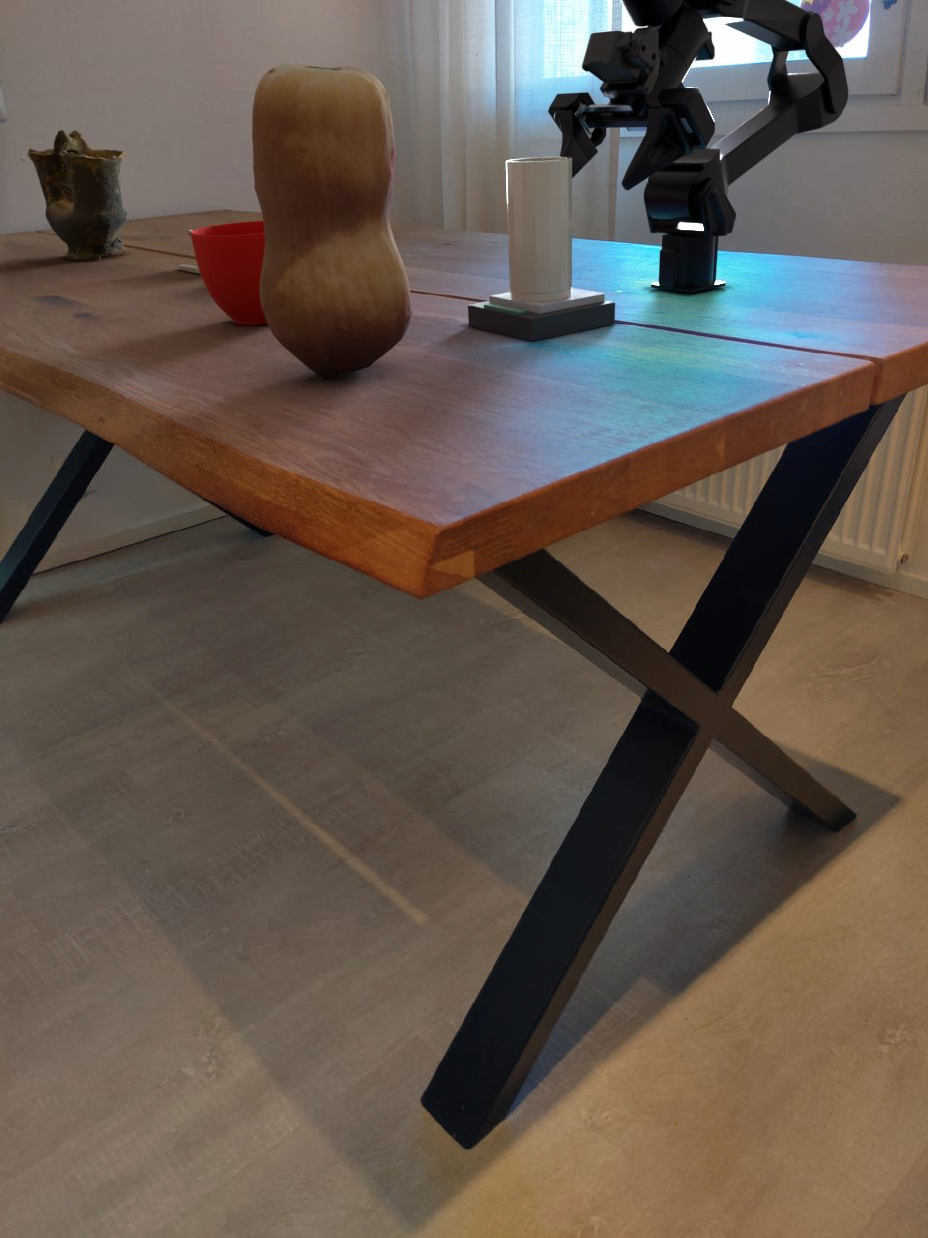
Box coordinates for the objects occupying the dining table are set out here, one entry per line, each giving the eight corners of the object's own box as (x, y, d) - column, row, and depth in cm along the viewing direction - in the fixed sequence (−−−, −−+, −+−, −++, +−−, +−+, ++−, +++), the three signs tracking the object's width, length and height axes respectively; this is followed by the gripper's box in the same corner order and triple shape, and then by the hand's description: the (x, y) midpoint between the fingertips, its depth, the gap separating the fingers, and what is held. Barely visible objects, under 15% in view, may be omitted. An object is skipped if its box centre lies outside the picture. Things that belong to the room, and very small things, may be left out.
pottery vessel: (38, 254, 181) (9, 132, 171) (96, 246, 187) (71, 127, 177) (92, 266, 163) (63, 130, 154) (154, 257, 169) (130, 126, 160)
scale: (548, 310, 113) (548, 282, 112) (614, 323, 105) (615, 294, 104) (468, 325, 108) (467, 296, 106) (532, 341, 100) (531, 310, 98)
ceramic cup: (258, 301, 128) (246, 216, 123) (340, 314, 117) (331, 222, 112) (167, 319, 120) (150, 229, 115) (246, 336, 109) (231, 238, 104)
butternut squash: (431, 379, 88) (410, 53, 77) (279, 398, 85) (232, 62, 74) (396, 347, 100) (372, 61, 89) (261, 363, 97) (218, 69, 86)
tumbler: (568, 288, 108) (568, 155, 102) (574, 299, 102) (574, 159, 96) (508, 291, 108) (504, 158, 102) (511, 302, 102) (507, 162, 96)
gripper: (559, 7, 106) (487, 129, 105) (705, -12, 94) (625, 127, 93) (607, 88, 115) (540, 202, 113) (747, 81, 102) (674, 210, 101)
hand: (590, 185), depth 105 cm, fingers open, 9 cm apart
